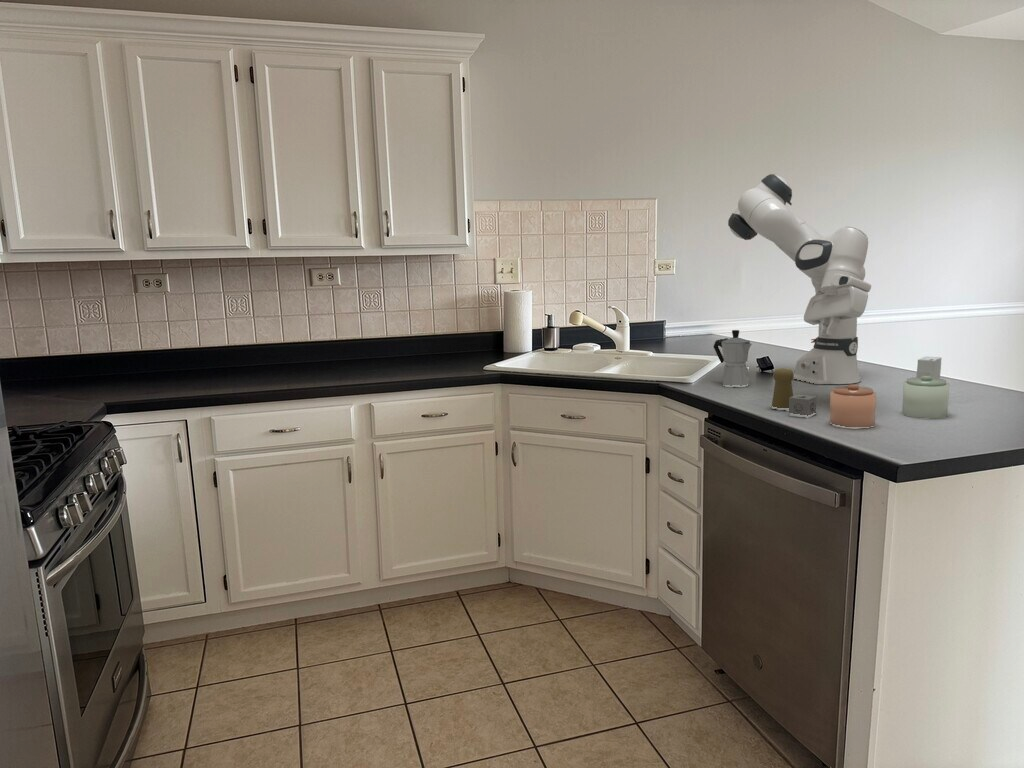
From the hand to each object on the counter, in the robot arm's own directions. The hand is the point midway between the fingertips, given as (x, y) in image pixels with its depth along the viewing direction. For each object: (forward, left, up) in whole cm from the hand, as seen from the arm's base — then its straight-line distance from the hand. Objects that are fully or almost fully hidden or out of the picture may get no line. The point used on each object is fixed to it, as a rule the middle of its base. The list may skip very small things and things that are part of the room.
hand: (826, 336), depth 190 cm
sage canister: (+19, +13, -20) cm, 31 cm away
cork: (-8, -7, -20) cm, 23 cm away
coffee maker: (-42, +9, -20) cm, 47 cm away
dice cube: (+1, -10, -20) cm, 22 cm away
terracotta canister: (+15, -9, -20) cm, 26 cm away
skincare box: (+11, +27, -20) cm, 35 cm away
